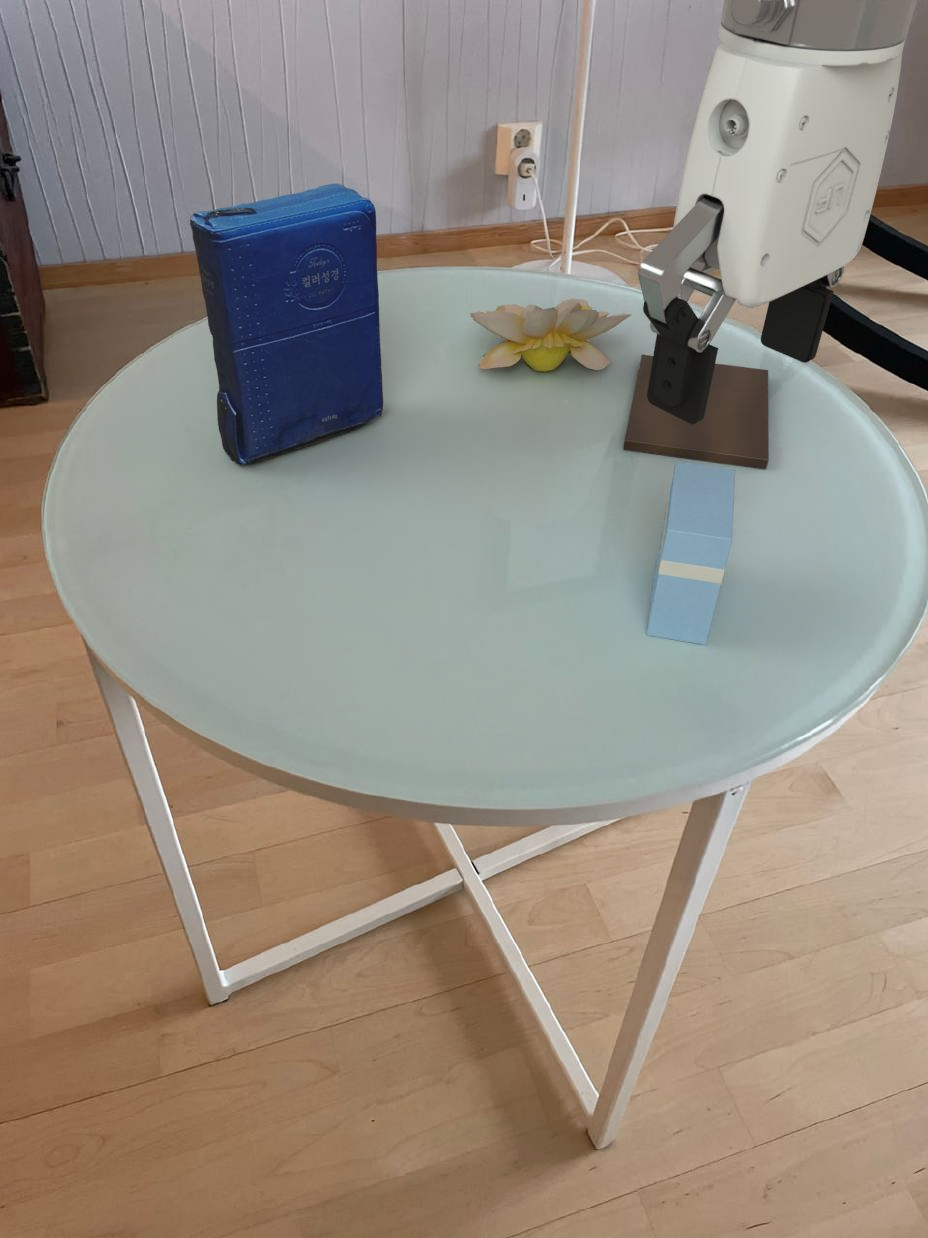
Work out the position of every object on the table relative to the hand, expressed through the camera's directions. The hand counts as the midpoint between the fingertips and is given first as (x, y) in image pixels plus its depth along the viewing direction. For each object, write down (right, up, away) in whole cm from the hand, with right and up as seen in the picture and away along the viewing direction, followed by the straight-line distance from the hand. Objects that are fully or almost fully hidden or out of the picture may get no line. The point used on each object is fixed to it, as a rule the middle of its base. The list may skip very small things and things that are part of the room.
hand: (732, 380), depth 52 cm
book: (-28, +3, +34) cm, 44 cm away
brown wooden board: (+7, +6, +38) cm, 39 cm away
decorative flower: (-6, +12, +45) cm, 47 cm away
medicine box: (+1, -11, +18) cm, 22 cm away
